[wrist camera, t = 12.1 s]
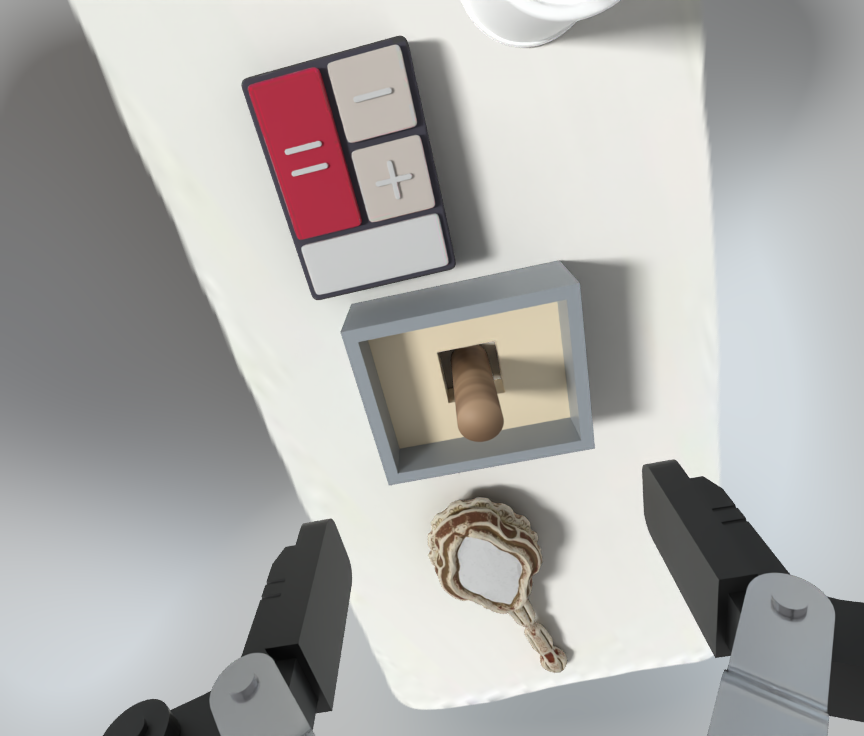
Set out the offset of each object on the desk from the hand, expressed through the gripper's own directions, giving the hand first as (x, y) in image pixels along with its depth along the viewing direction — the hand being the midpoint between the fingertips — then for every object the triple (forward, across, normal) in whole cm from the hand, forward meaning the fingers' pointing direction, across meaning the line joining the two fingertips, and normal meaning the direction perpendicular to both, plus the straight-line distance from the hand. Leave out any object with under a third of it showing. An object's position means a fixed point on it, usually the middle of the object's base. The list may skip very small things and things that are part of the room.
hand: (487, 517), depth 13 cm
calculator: (+31, +5, -6) cm, 32 cm away
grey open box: (+30, 0, +10) cm, 32 cm away
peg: (+30, 0, +10) cm, 32 cm away
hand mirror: (+30, 0, +38) cm, 48 cm away
